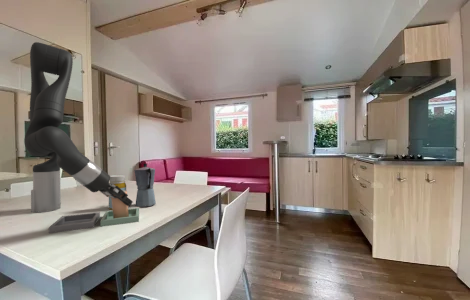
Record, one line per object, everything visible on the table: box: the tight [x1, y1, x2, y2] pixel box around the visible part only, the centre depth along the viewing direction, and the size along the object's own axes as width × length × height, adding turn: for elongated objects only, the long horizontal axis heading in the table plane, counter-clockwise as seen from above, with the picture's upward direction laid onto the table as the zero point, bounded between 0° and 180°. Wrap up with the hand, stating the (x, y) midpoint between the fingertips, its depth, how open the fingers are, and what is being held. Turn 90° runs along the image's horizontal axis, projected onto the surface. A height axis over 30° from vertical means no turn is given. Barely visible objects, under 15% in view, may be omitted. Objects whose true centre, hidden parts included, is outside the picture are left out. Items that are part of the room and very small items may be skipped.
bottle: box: [108, 174, 127, 211], centre depth 97 cm, size 7×7×15 cm
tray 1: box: [48, 211, 101, 234], centre depth 76 cm, size 12×12×2 cm
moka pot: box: [133, 163, 156, 208], centre depth 102 cm, size 10×15×20 cm, turn 43°
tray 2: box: [100, 207, 140, 227], centre depth 81 cm, size 12×12×2 cm
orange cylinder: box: [111, 190, 129, 219], centre depth 80 cm, size 5×5×10 cm
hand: (125, 202), depth 83 cm, fingers open, 6 cm apart
